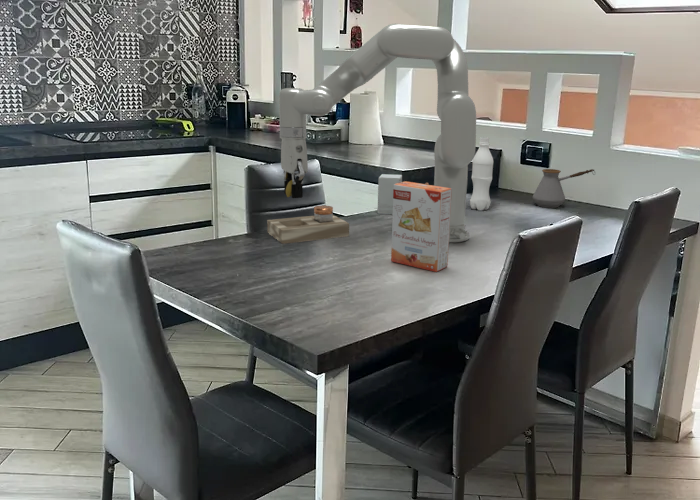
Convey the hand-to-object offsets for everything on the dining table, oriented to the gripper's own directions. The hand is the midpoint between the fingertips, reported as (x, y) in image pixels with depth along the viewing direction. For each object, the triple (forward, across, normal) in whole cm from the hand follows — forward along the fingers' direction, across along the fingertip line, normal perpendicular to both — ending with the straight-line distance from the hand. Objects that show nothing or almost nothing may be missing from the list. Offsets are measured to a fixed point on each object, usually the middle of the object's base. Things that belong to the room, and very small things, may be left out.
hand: (293, 195), depth 198 cm
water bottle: (+12, +9, -74) cm, 75 cm away
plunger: (+9, 0, -10) cm, 13 cm away
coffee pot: (+12, 0, -103) cm, 103 cm away
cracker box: (+13, -39, -20) cm, 45 cm away
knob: (+1, 0, 0) cm, 1 cm away
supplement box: (+13, +17, -42) cm, 47 cm away
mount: (+12, 0, -5) cm, 13 cm away
